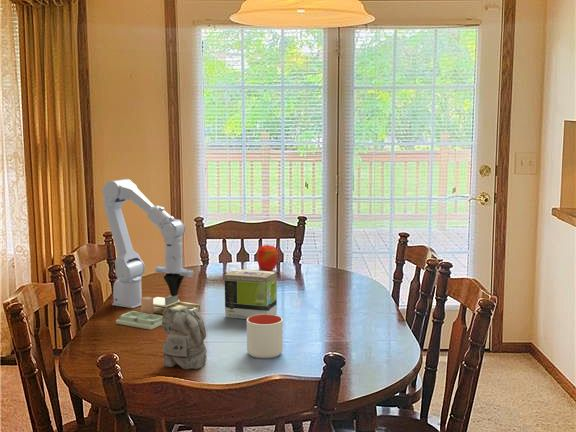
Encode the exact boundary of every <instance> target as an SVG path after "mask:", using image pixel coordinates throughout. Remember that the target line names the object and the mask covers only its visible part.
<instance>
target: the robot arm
mask: <svg viewBox="0 0 576 432" xmlns="http://www.w3.org/2000/svg"><path fill="white" fill-rule="evenodd" d="M101 192H102V196H103V209H104V211H105V215H106V219H107V222H108V225H109V230H110V233H111V236H112V239H113V242H114V245H115V249H116V252H117V257H116V258H115V260H114V266H115V271H114V273H115V277H116V278H117V279H115V281H114V283H113V287H112V290H113V291H112V293H113V294H112V296H113V303H112V306H117V307H124V308H129V309H135V308H137V307H141V298H142V297H143V296H142V295H143V294H142V278H143V275H144V274H145V272H146V265H145V263H144V261H143V260H142V259H141V256H140V254H139V253H138V252H136V251H135V250H134V247H133V244H132V241H131V238H130V235H129V231H128V230H129V229H128V228H127V227H128V226H127V223H126V221H125V218H124V217H125V216H124V213H123V210H122V207H123V205H124V203H125V202H127V201H128V200H129V201H131V202H133V203H134V204H135V205H136V206H138V207H139V208H140V209H141V210H143V212H145V213H146V214H147V219H148V220H149V221H150V222H151V223H153V225H155V226H156V227H157V228H158V229H159V230H160V232H161V233H160V235H161V236H162V237H163V242H164V265H165V266H159V265H158V266H154V273H155V274H159V273H160V274H165V275H164V276H163V279H164V281H165V282H166V285H167V286H168V291H169V292H170V295H171V296H176V295H178V296H179V289H180V286H181V284H182V281H183V279H184V278H185V277H187V278H193V277H194V270H191V269H187V268H184V267H183V235H184V234H185V232H186V226H185V224H184V222H183V221H182V220H181V219H179V218H178V219H176V218H175V217H174V216H172V215H171V214H169V213H168V212H167V211H166V210H165V207H163V206H161V205H154V204H153V203H152V202H151V201H150V200H149V199H148V198H147V197H146V195H144V194H143V192H141V190H140V189H139V188H138V186H137V184H136V183H134V182H133V180H131V179H129V178H122V179H117V180H108V181H107V182H105V184H104V186H103V187H102V188H101Z"/></svg>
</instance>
